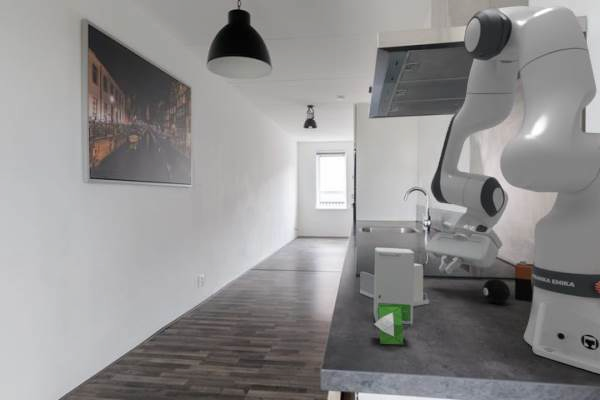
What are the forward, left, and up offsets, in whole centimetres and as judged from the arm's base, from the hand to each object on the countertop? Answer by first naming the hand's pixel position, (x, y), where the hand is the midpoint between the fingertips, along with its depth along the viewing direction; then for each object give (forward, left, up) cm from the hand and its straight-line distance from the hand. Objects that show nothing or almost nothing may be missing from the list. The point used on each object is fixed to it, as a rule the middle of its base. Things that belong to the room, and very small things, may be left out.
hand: (444, 271), depth 99 cm
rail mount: (+6, +12, -7) cm, 15 cm away
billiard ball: (-9, -9, -7) cm, 14 cm away
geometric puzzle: (-17, +32, -7) cm, 37 cm away
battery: (-11, -20, -7) cm, 24 cm away
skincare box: (-7, +23, -7) cm, 26 cm away
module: (0, +13, -6) cm, 14 cm away
